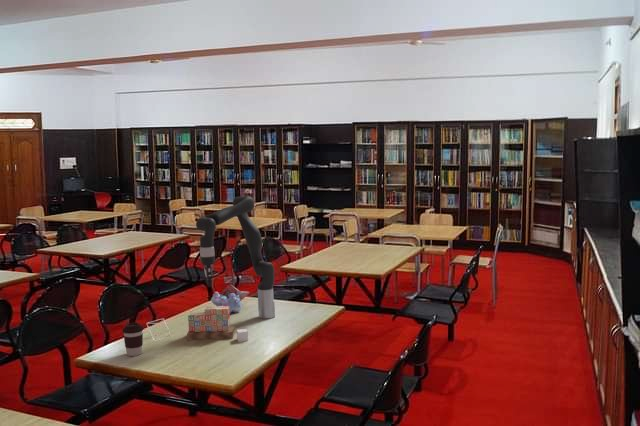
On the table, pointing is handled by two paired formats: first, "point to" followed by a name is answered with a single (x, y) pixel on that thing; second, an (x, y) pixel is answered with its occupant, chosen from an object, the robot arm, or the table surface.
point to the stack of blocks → (210, 319)
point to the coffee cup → (133, 338)
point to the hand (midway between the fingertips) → (209, 285)
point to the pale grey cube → (242, 335)
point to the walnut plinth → (211, 335)
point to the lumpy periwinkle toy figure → (229, 298)
